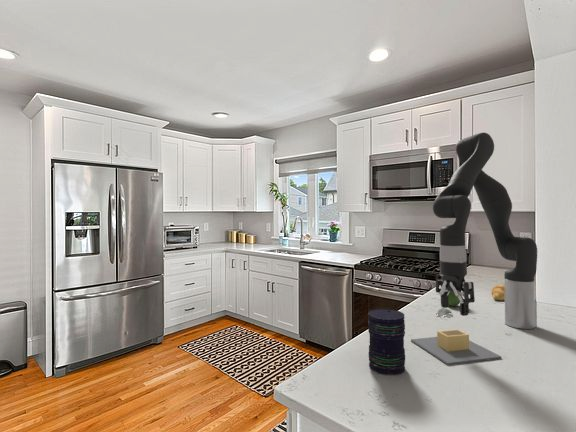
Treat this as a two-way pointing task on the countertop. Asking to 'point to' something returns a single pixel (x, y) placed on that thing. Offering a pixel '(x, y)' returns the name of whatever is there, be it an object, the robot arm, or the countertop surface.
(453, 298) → the avocado
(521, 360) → the countertop surface
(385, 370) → the storage jar
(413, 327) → the countertop surface
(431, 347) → the mat
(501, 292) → the croissant
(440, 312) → the grey-green jagged piece
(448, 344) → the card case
